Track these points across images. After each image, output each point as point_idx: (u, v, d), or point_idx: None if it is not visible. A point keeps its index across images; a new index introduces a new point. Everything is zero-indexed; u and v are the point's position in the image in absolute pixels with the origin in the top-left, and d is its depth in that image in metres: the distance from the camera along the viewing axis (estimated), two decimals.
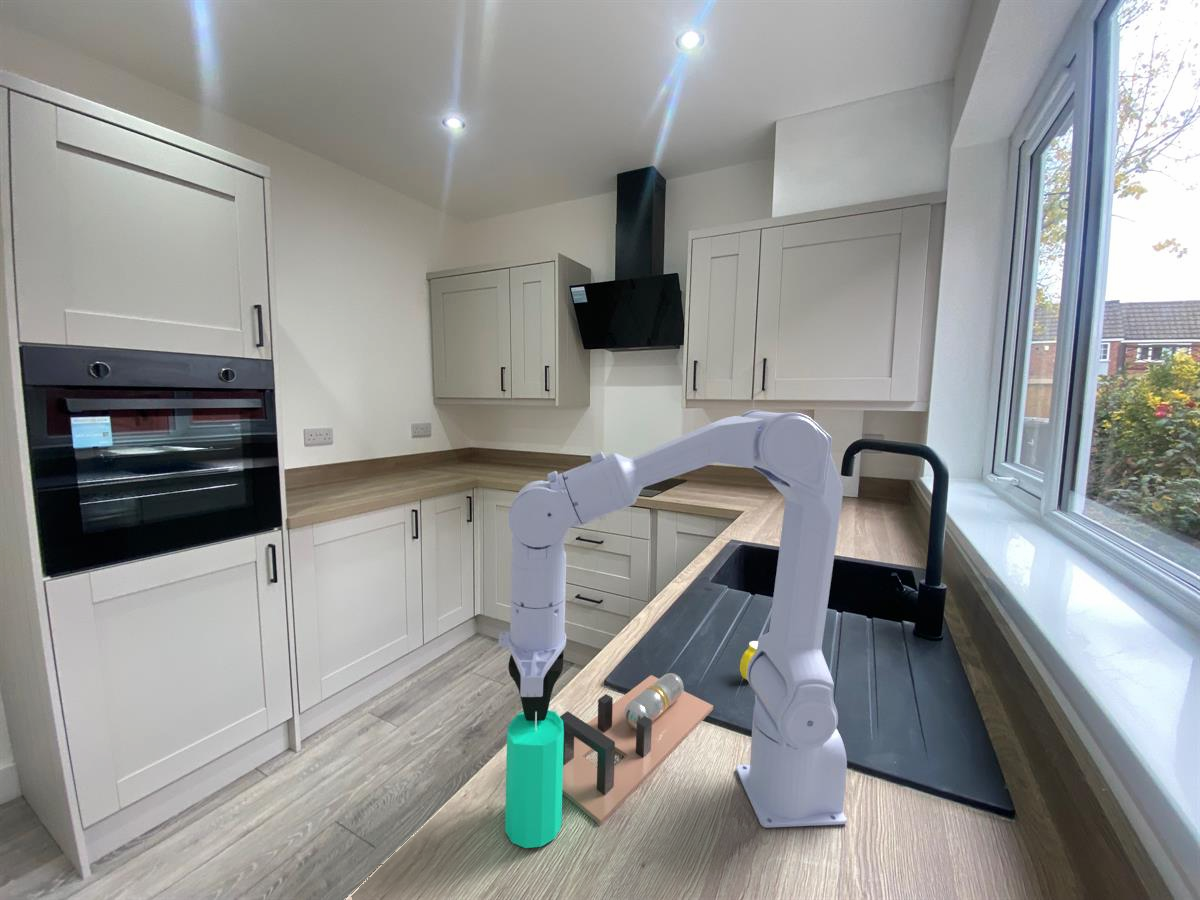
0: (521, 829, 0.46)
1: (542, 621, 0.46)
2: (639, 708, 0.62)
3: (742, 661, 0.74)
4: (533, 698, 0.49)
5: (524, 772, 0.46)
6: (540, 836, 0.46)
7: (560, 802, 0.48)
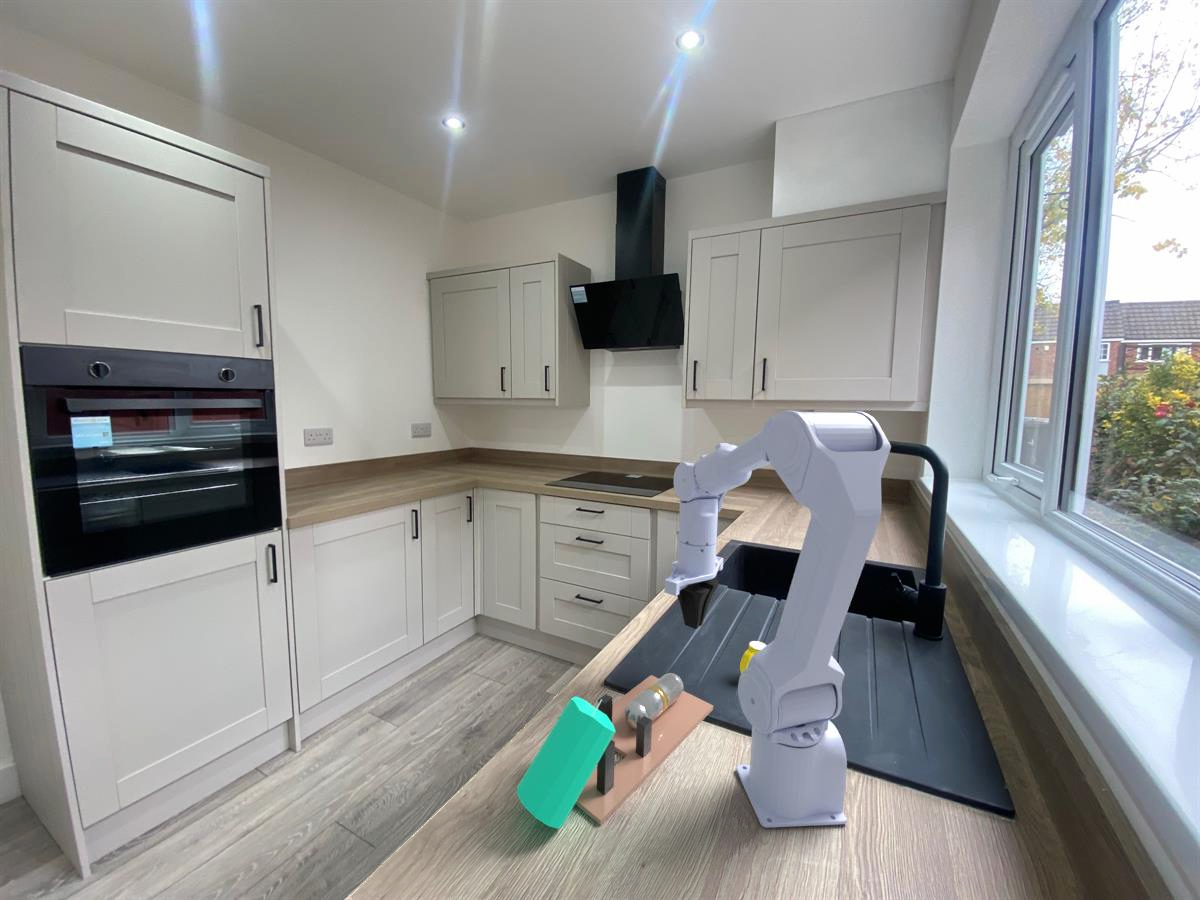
0: (542, 796, 0.47)
1: (691, 554, 0.69)
2: (639, 708, 0.62)
3: (742, 661, 0.74)
4: (689, 610, 0.71)
5: (575, 741, 0.48)
6: (552, 814, 0.47)
7: (577, 798, 0.49)
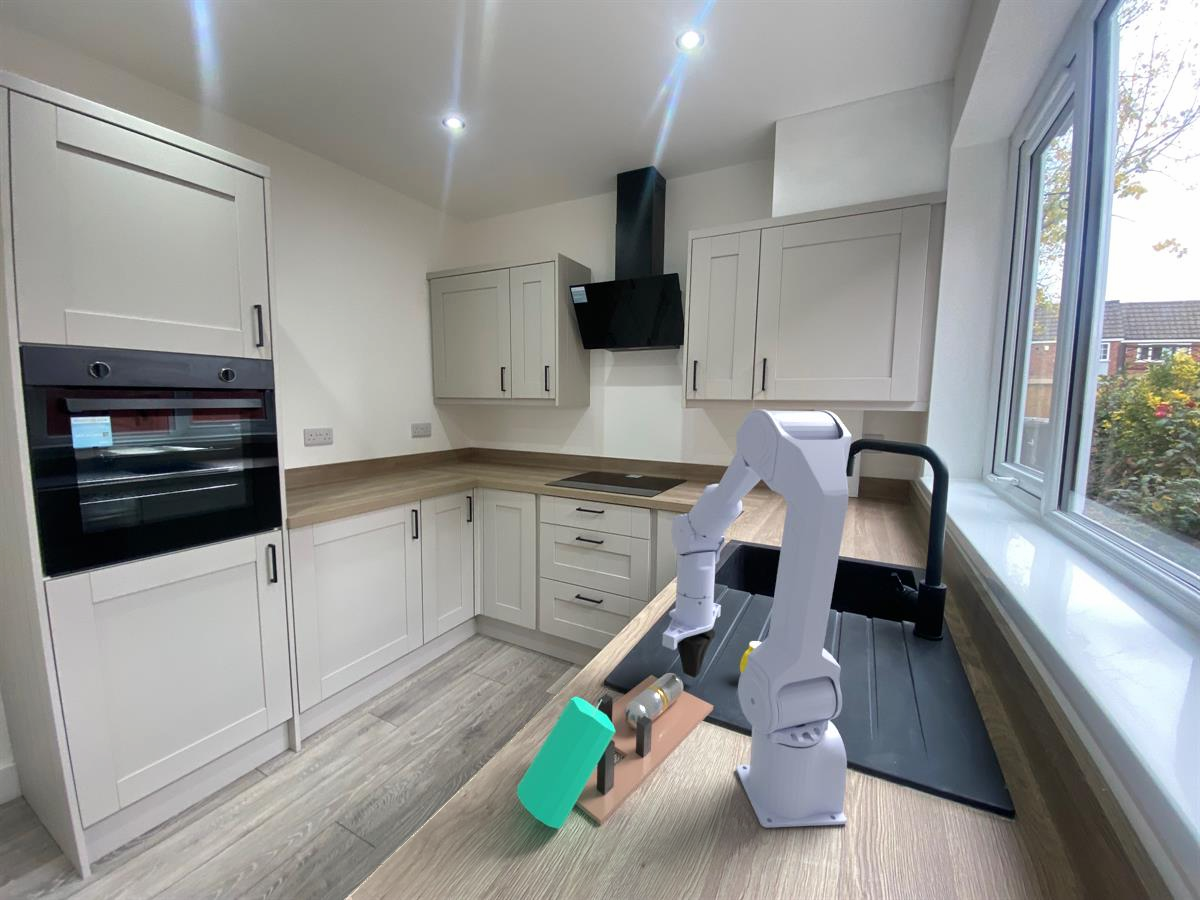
0: (542, 796, 0.47)
1: (689, 606, 0.69)
2: (639, 708, 0.62)
3: (742, 661, 0.74)
4: (687, 659, 0.73)
5: (575, 741, 0.48)
6: (552, 814, 0.47)
7: (577, 798, 0.49)
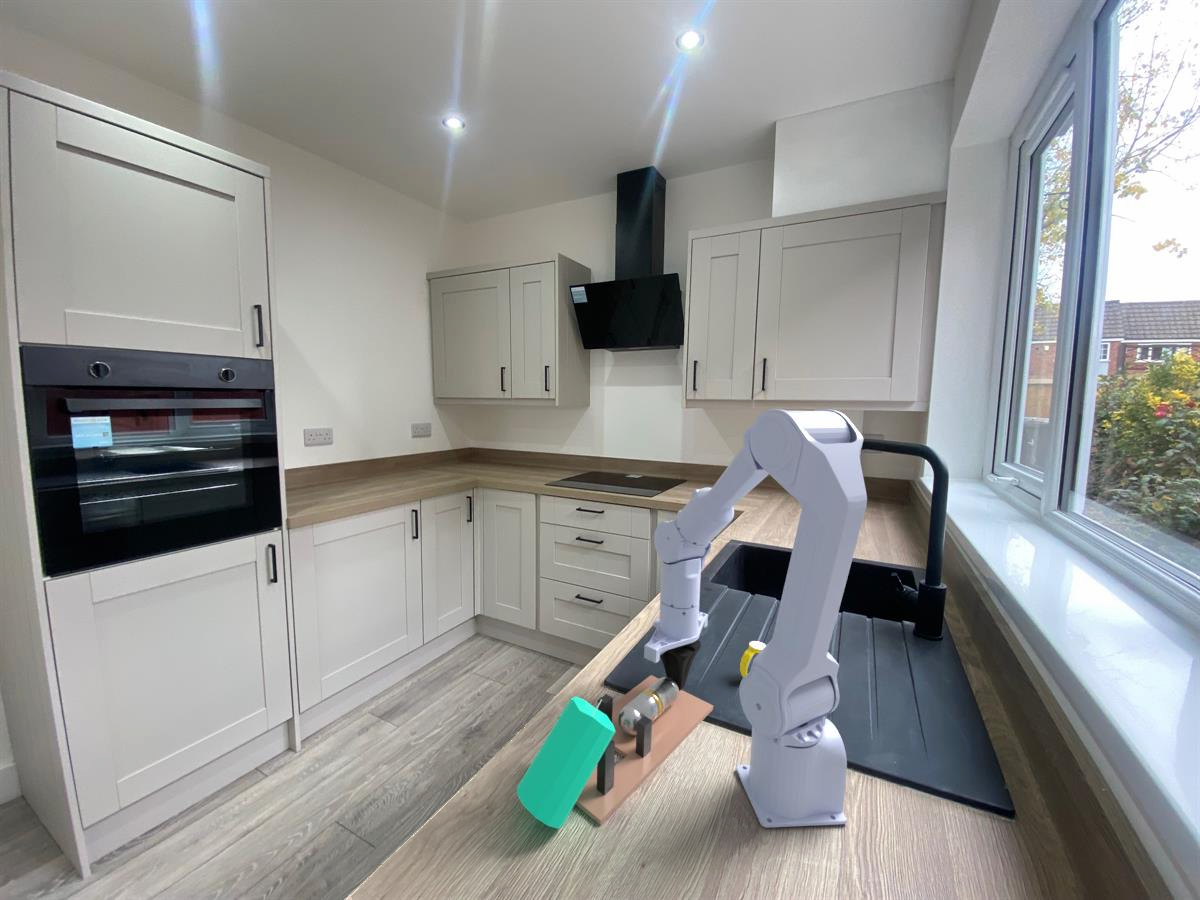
0: (541, 796, 0.47)
1: (673, 617, 0.66)
2: (633, 713, 0.61)
3: (742, 661, 0.74)
4: (672, 671, 0.69)
5: (575, 741, 0.48)
6: (552, 814, 0.47)
7: (577, 798, 0.49)
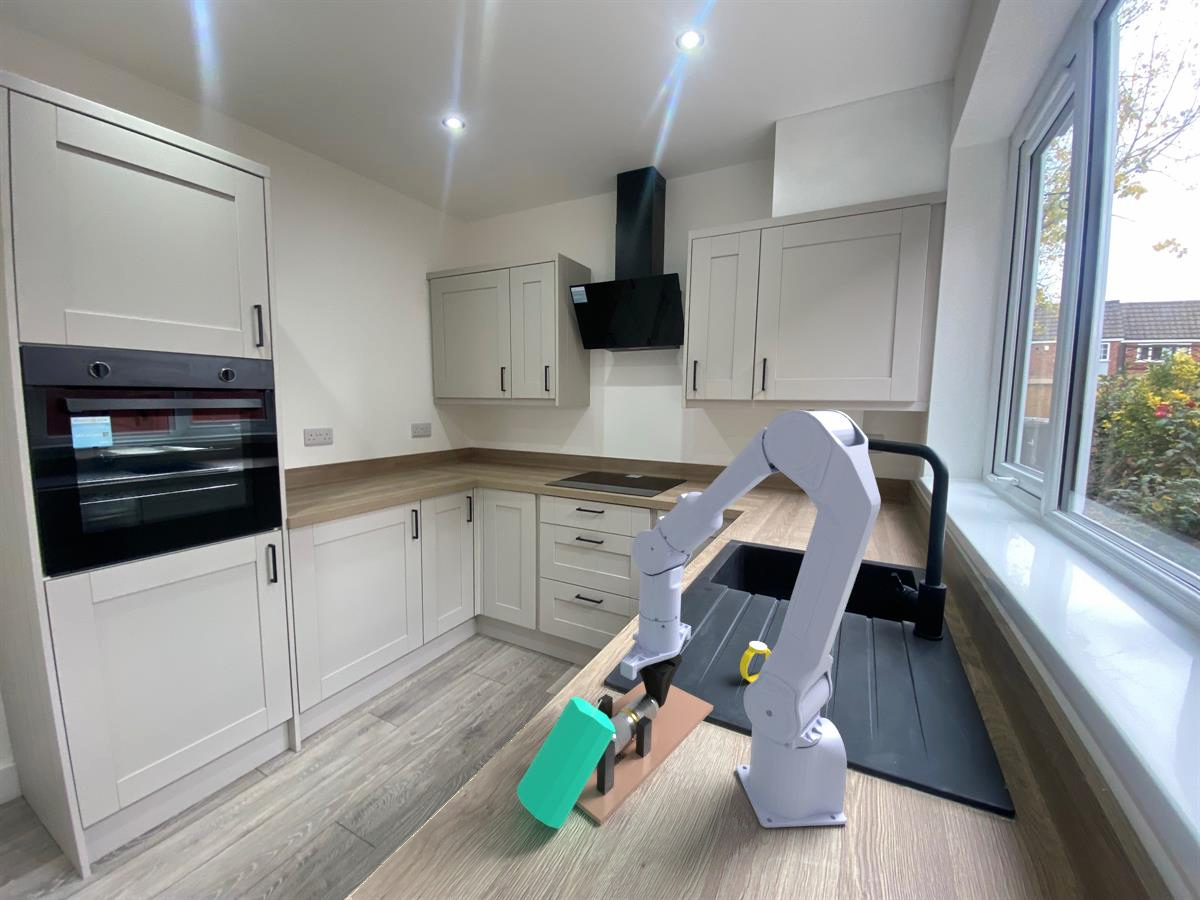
0: (541, 796, 0.47)
1: (651, 630, 0.62)
2: None
3: (742, 661, 0.74)
4: (652, 687, 0.65)
5: (575, 741, 0.48)
6: (552, 814, 0.47)
7: (577, 798, 0.49)
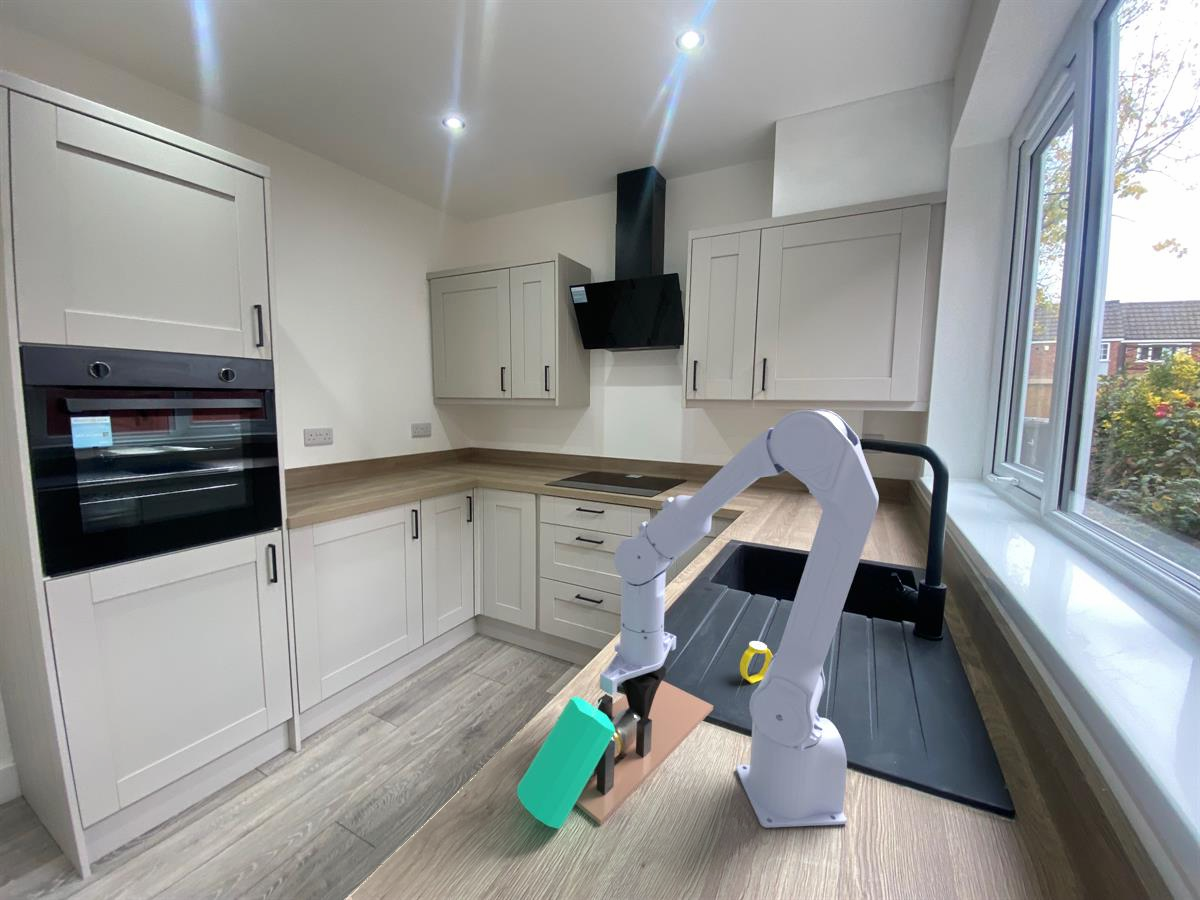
0: (541, 796, 0.47)
1: (633, 641, 0.59)
2: None
3: (742, 661, 0.74)
4: (635, 701, 0.62)
5: (575, 741, 0.48)
6: (552, 814, 0.47)
7: (577, 798, 0.49)
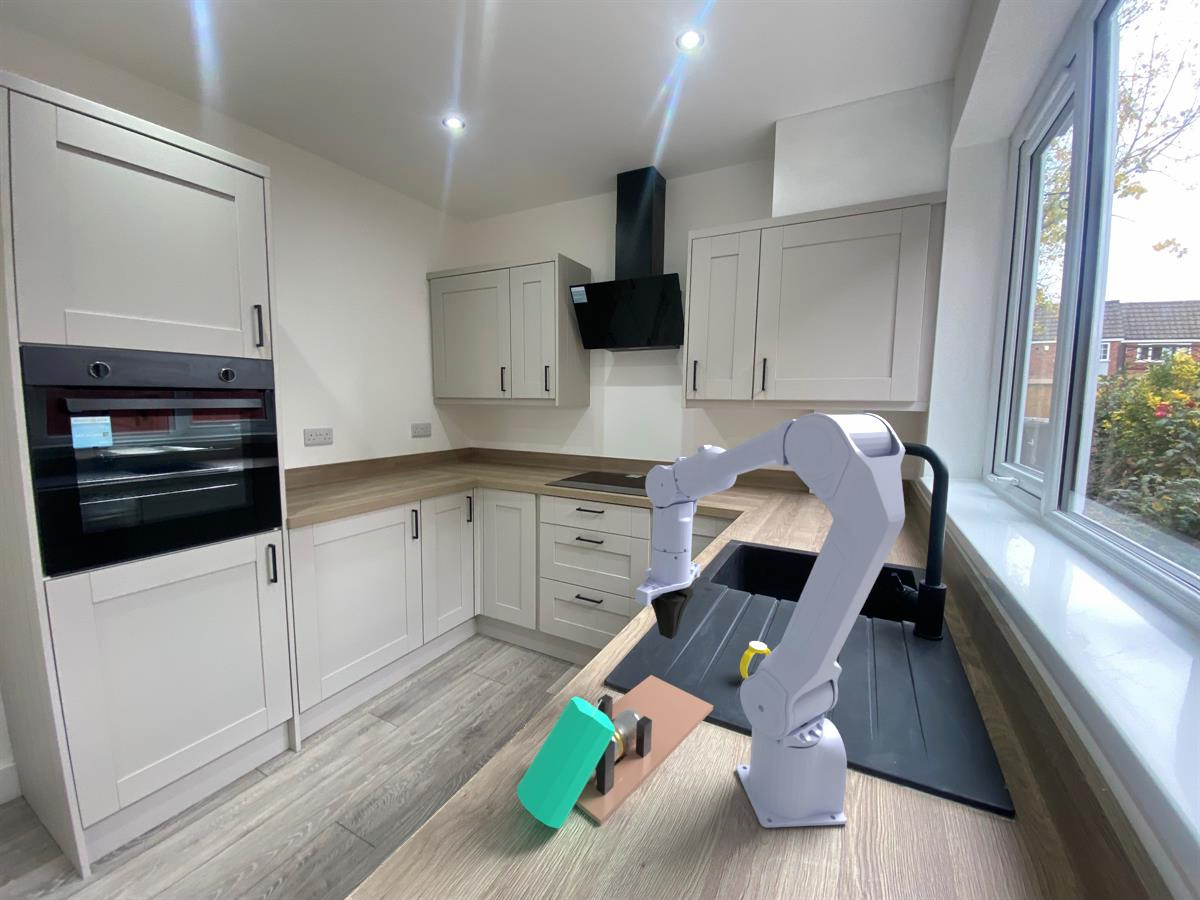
0: (541, 796, 0.47)
1: (664, 561, 0.65)
2: None
3: (742, 661, 0.74)
4: (664, 619, 0.68)
5: (575, 741, 0.48)
6: (552, 814, 0.47)
7: (577, 798, 0.49)
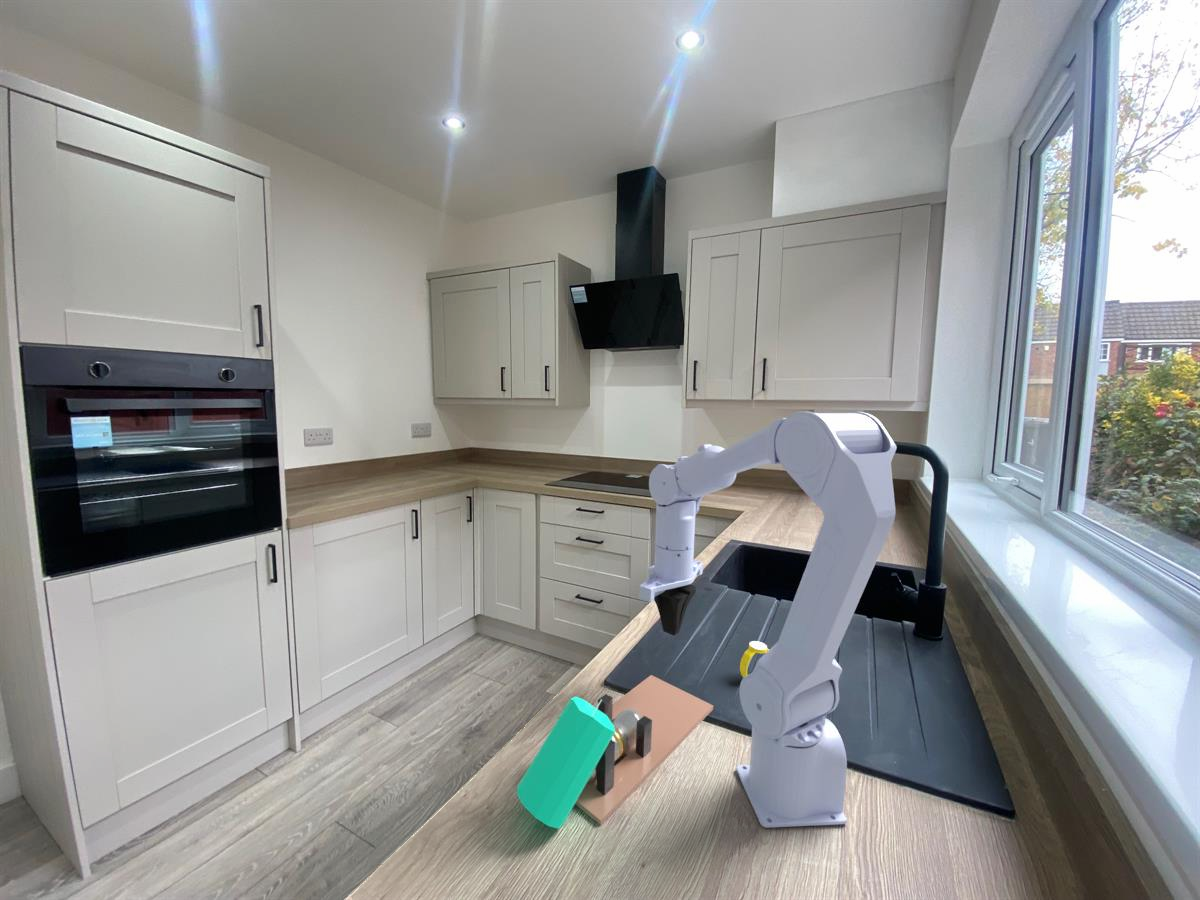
0: (541, 796, 0.47)
1: (667, 559, 0.66)
2: None
3: (742, 661, 0.74)
4: (667, 616, 0.69)
5: (575, 741, 0.48)
6: (552, 814, 0.47)
7: (577, 798, 0.49)
